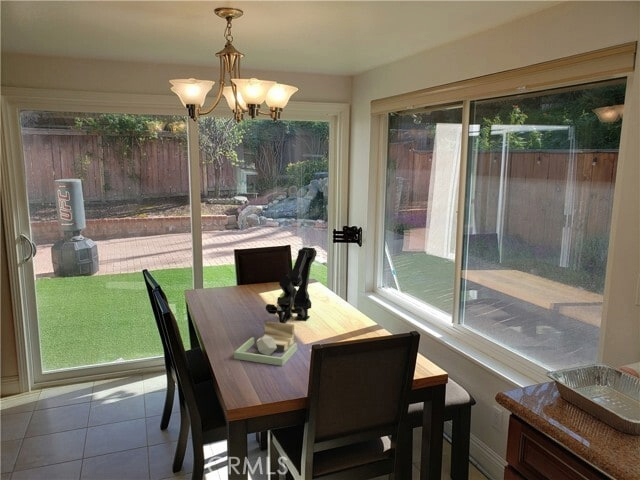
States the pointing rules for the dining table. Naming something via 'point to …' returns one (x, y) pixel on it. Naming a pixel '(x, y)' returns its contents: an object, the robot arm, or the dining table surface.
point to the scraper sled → (279, 334)
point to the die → (266, 345)
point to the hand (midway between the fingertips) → (280, 326)
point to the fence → (243, 355)
